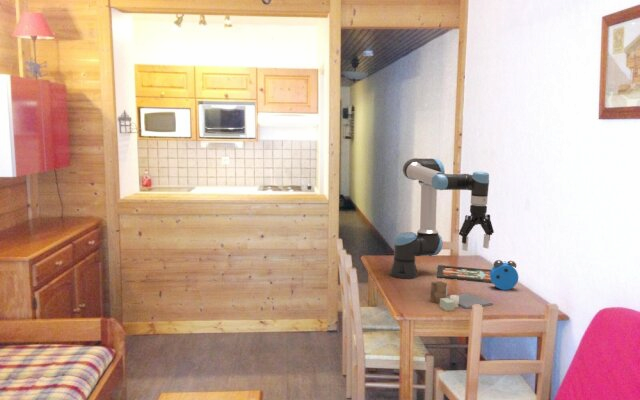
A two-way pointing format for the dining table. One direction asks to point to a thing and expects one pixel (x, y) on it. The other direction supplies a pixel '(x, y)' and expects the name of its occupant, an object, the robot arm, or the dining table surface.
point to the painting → (464, 274)
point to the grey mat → (471, 300)
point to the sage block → (447, 304)
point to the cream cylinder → (455, 300)
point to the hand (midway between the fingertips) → (475, 249)
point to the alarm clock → (504, 275)
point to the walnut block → (438, 291)
